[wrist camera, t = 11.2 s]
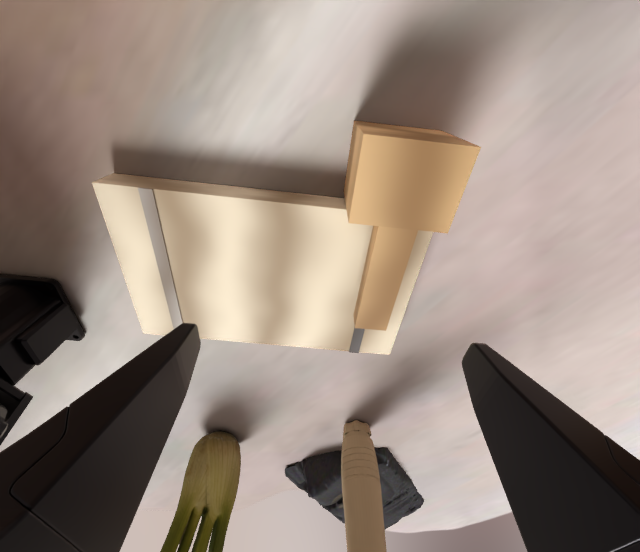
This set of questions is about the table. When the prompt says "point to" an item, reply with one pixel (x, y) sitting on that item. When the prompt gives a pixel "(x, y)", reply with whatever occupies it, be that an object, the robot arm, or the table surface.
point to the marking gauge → (400, 202)
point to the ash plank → (246, 263)
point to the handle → (361, 490)
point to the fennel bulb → (206, 495)
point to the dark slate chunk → (326, 484)
